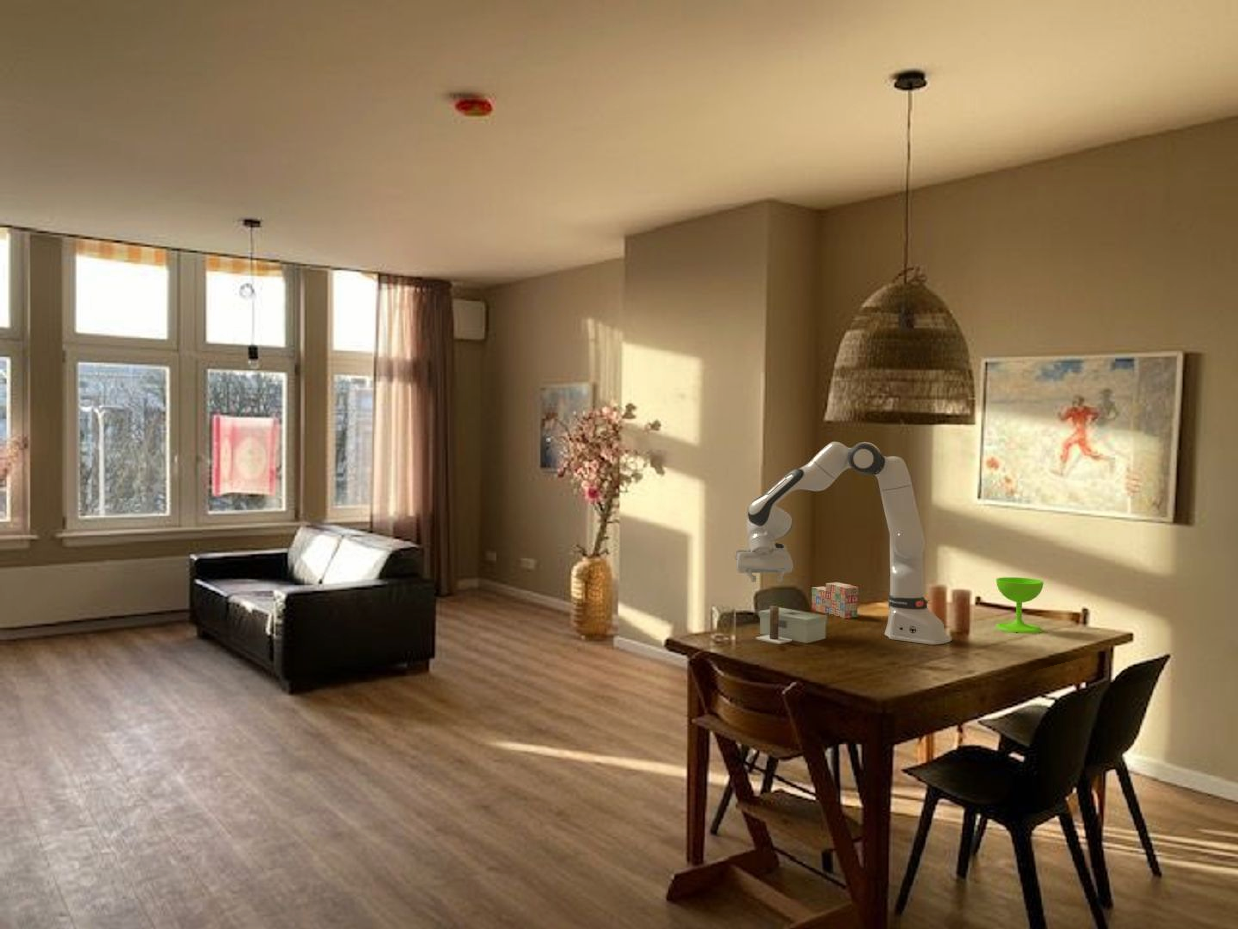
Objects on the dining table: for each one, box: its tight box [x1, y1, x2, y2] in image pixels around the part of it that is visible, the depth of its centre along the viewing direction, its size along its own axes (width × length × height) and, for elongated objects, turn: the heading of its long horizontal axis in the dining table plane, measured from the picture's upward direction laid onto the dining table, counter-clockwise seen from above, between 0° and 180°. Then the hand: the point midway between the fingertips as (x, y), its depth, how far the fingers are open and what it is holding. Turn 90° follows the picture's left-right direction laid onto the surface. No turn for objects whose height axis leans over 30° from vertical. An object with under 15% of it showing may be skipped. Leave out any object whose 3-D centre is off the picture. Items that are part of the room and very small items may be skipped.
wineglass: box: [995, 576, 1044, 634], centre depth 335 cm, size 16×16×18 cm
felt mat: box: [755, 635, 793, 645], centre depth 313 cm, size 10×7×1 cm
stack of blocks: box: [811, 581, 859, 619], centre depth 364 cm, size 21×6×12 cm, turn 25°
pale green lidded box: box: [758, 606, 828, 644], centre depth 320 cm, size 21×12×8 cm, turn 42°
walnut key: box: [769, 605, 780, 639], centre depth 313 cm, size 3×3×11 cm
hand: (767, 581), depth 325 cm, fingers open, 8 cm apart
